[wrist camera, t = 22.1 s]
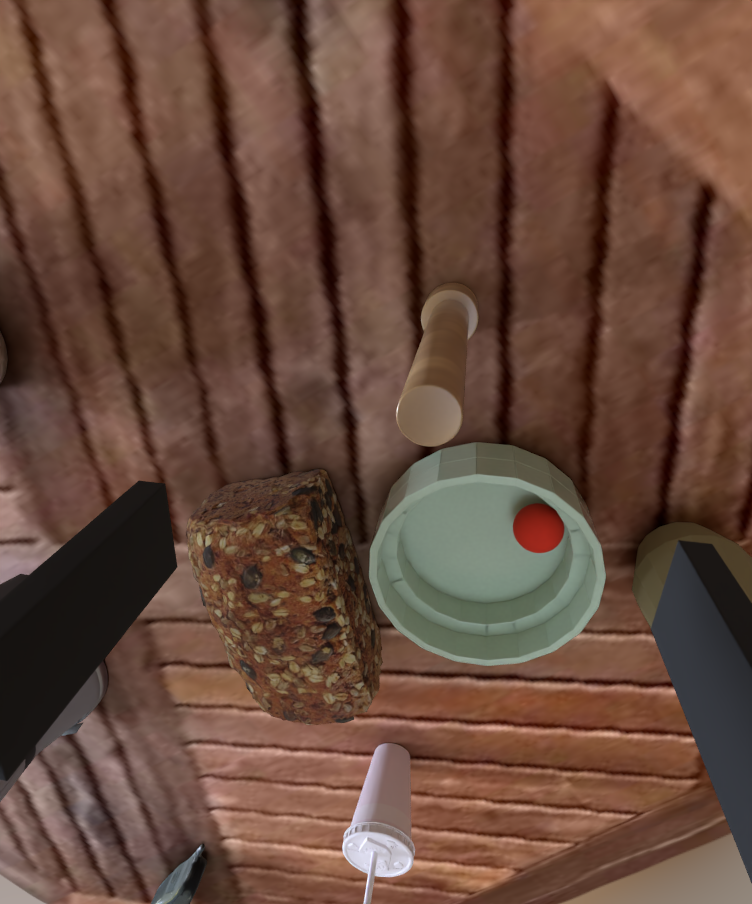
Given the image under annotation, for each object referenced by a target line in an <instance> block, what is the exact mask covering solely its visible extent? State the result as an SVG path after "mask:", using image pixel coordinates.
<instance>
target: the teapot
mask: <svg viewBox="0 0 752 904" xmlns="http://www.w3.org/2000/svg"><path fill="white" fill-rule="evenodd" d="M7 362H8V357H7V349H6V345H5V341H4V339H3V336H2V334H1V332H0V383H1V381H2V380H3V378H4V376H5V373H6V369H7Z"/></svg>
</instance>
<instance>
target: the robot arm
mask: <svg viewBox="0 0 752 904" xmlns="http://www.w3.org/2000/svg"><path fill="white" fill-rule="evenodd" d="M176 568H177V561H176V554H175V548H174V541H173V534H172V527H171V520H170V514H169V507H168V500H167V493H166V486H165V484H163V483H154V482H145V481H138V482H137V483H136V484H134V485H133V486H132V487H131V488H130V489H129V490H127V491H126V492H125V493H124V494H123V495H122V496H121V497H119V498H118V499H117V500H116V501H115V502H114V503H112V504H111V505H110V506H109V507H108V508H107V509H105V510H104V511H103V512H102V513H101V514H100V515H98V516H97V517H96V518H95V519H94V520H93V521H91V522H90V523H89V524H88V525H87V526H86V527H85V528H83V529H82V530H81V531H80V532H79V533H78V534H76V535H75V536H74V537H73V538H72V539H71V540H69V541H68V542H67V543H66V544H65V545H64V546H62V547H61V548H60V549H59V550H58V551H57V552H56V553H54V554H53V555H52V556H51V557H50V558H49V559H47V560H46V561H45V562H44V563H43V564H42V565H40V566H39V567H38V568H37V569H36V570H35V571H33V572H32V573H31V574H30V575H24V574H20V575H18V576H16V577H14V578H12V579H10V580H8V581H6V582H4V583H2V584H0V802H1V800H2V799H3V798H4V796H5V795H6V794H7V793H8V791H9V790H10V789H11V787H12V786H13V785H14V783H15V782H16V781H17V779H18V778H19V777H20V776H21V774H22V773H23V772H24V770H25V769H26V768H27V767H28V765H29V764H30V763H31V761H32V760H33V759H34V758H35V756H36V755H37V754H38V753H39V752H40V751H42V750H43V749H44V748H46V747H47V746H48V745H49V744H51V743H52V742H53V741H55V740H56V739H57V738H58V737H60V736H62V735H67V734H73V733H76V732H77V731H78V729H79V728H80V727H81V725H82V724H83V723H80V724H78V723H79V722H81V721H82V720H84V719H85V718H86V717H87V716H88V715H89V714H90V713H91V712H92V711H93V710H94V709H95V707H96V706H97V705H98V703H99V702H100V701H101V699H102V698H103V696H104V695H105V692H106V690H107V686H108V675H107V670H106V666H105V664H104V661H103V660H104V659H105V657H106V656H107V655H108V654H109V652H110V651H111V650H112V649H113V647H114V646H115V645H116V644H117V642H118V641H119V640H120V639H121V637H122V636H123V635H124V634H125V632H126V631H127V630H128V629H129V627H130V626H131V625H132V623H133V622H134V621H135V620H136V618H137V617H138V616H139V615H140V613H141V612H142V611H143V610H144V608H145V607H146V606H147V605H148V603H149V602H150V601H151V600H152V598H153V597H154V596H155V594H156V593H157V592H158V591H159V589H160V588H161V587H162V586H163V584H164V583H165V582H166V581H167V579H168V578H169V577H170V576H171V574H172V573H173V572H174V571H175V569H176ZM651 631H652V633H653V636H654V638H655V641H656V643H657V646H658V648H659V651H660V653H661V656H662V658H663V661H664V663H665V666H666V668H667V671H668V673H669V676H670V679H671V681H672V684H673V686H674V689H675V691H676V694H677V696H678V699H679V701H680V704H681V706H682V709H683V711H684V714H685V716H686V719H687V721H688V724H689V726H690V729H691V731H692V734H693V737H694V739H695V742H696V744H697V747H698V749H699V752H700V754H701V757H702V759H703V762H704V764H705V767H706V769H707V772H708V774H709V777H710V779H711V782H712V784H713V787H714V789H715V792H716V794H717V797H718V800H719V802H720V805H721V807H722V810H723V812H724V815H725V817H726V820H727V822H728V825H729V827H730V830H731V832H732V835H733V837H734V840H735V842H736V845H737V847H738V850H739V852H740V855H741V857H742V860H743V862H744V865H745V868H746V870H747V873H748V875H749V878H750V880H751V883H752V603H751V601H750V600H749V598H748V597H747V595H746V594H745V592H744V591H743V589H742V588H741V586H740V585H739V583H738V582H737V580H736V579H735V577H734V576H733V574H732V573H731V571H730V570H729V568H728V567H727V565H726V564H725V562H724V561H723V559H722V558H721V556H720V555H719V553H718V552H717V550H716V549H715V547H714V546H713V544H708V543H699V542H690V541H681V540H678V543H677V546H676V549H675V552H674V555H673V559H672V562H671V565H670V568H669V572H668V575H667V578H666V581H665V584H664V588H663V591H662V594H661V597H660V601H659V604H658V607H657V610H656V613H655V617H654V620H653V623H652V626H651Z"/></svg>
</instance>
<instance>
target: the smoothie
mask: <svg viewBox="0 0 752 904" xmlns="http://www.w3.org/2000/svg"><path fill="white" fill-rule="evenodd" d="M342 850H343V854H344V856H345V858H346V859H347V860H348V862H350V863H351V864H352V865H353V866H354V867H356V868H357V869H359V870H361V871H363V872H365V873H368V879H367V885H366V892H365V898H364V904H371V897H372V891H373V884H374V877H375V876H380V877H394V876H399V875H402V874H404V873H406V872H407V871H408V870H409V869H410V868H411V867H412V865H413V858H414V855H415V847H414V844H413V842H412V840H411V778H410V755H409V753H408V751H407V750H406V749H405V748H403V747H402V746H400V745H397V744H393V743H384V744H381V745H379V746H378V747H377V748H376V749H375V752H374V755H373V758H372V761H371V764H370V767H369V770H368V774H367V777H366V780H365V783H364V786H363V789H362V792H361V795H360V798H359V801H358V804H357V807H356V811H355V813H354V816H353V820H352V823H351V826H350V827H349V828H348V829H347V830H346V832H345V834H344V841H343V846H342Z"/></svg>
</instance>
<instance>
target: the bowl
mask: <svg viewBox="0 0 752 904" xmlns="http://www.w3.org/2000/svg"><path fill="white" fill-rule="evenodd" d="M534 503H540V504H545V505H548V506H550V507H552V508H553V509H555V510H556V511H557V513H558V515H559V516H560V518H561V520H562V521H563V523H564V535H563V538H562V540H561V542H560V543H559V545H558V546H557V547H556V548H554V549H553V550H551V551H549V552H546V553H533V552H530V551H528V550H526V549H524V548H523V547H522V546H521V545H520V544H519V543H518V542H517V540H516V538H515V536H514V533H513V522H514V519H515V516H516V515H517V513H518V512H519V511H520V510H521V509H522V508H524V507H525V506H527V505H530V504H534ZM369 580H370V583H371V586H372V589H373V591H374V594H375V597H376V600H377V603H378V605H379V607H380V609H381V610H382V611H383V612H384V614H385V615H386V616H387V618H388V619H389V620H390V621H391V623H392V624H393V625H394V627H395V628H396V629H397V630H398V631H399V632H400V633H402V634H403V635H405V636H406V637H407V638H409V639H410V640H411V641H413V642H414V643H416V644H417V645H418V646H420V647H421V648H422V649H425V650H427V651H430V652H432V653H435V654H437V655H440V656H442V657H445V658H447V659H450V660H452V661H457V662H464V663H470V664H477V665H484V666H493V665H504V664H515V663H523V662H526V661H529V660H532V659H535V658H537V657H540V656H543V655H546V654H549V653H552V652H553V651H555V650H557V649H558V648H560V647H561V646H563V645H564V644H565V643H567V642H568V641H570V640H571V639H572V638H574V637H575V636H577V635H578V634H579V633H580V632H581V631H582V630H583V628H584V627H585V626H586V624H587V623H588V621H589V620H590V619H591V617H592V616H593V615H594V613H595V612H596V610H597V609H598V607H599V604H600V600H601V596H602V592H603V588H604V584H605V580H606V572H605V566H604V559H603V553H602V547H601V544H600V541H599V538H598V535H597V532H596V530H595V527H594V524H593V521H592V518H591V515H590V512H589V510H588V507H587V505H586V503H585V502H584V500H583V498H582V497H581V495H580V493H579V492H578V490H577V488H576V486H575V485H574V483H573V481H571V479H570V478H569V477H567V476H566V475H565V474H564V473H562V472H561V471H560V470H559V469H558V468H556V467H555V466H554V465H553V464H552V463H550V462H549V461H548V460H547V459H545V458H543V457H540V456H538V455H535V454H533V453H530V452H528V451H525V450H523V449H520V448H518V447H515V446H512V445H502V444H492V443H481V442H477V443H476V442H475V443H469V444H464V445H459V446H454V447H449V448H444V449H441V450H439V451H437V452H435V453H433V454H431V455H429V456H427V457H425V458H424V459H422V460H420V461H418V462H416V463H414V464H413V465H412V466H411V467H410V468H409V469H408V470H407V471H406V472H405V473H404V474H403V475H402V476H401V477H400V478H399V479H398V481H397V482H396V483H395V484H394V485H393V486H392V487H391V489H390V492H389V494H388V496H387V499H386V501H385V503H384V506H383V508H382V510H381V513H380V516H379V520H378V523H377V526H376V530H375V533H374V536H373V540H372V543H371V546H370V555H369Z"/></svg>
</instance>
